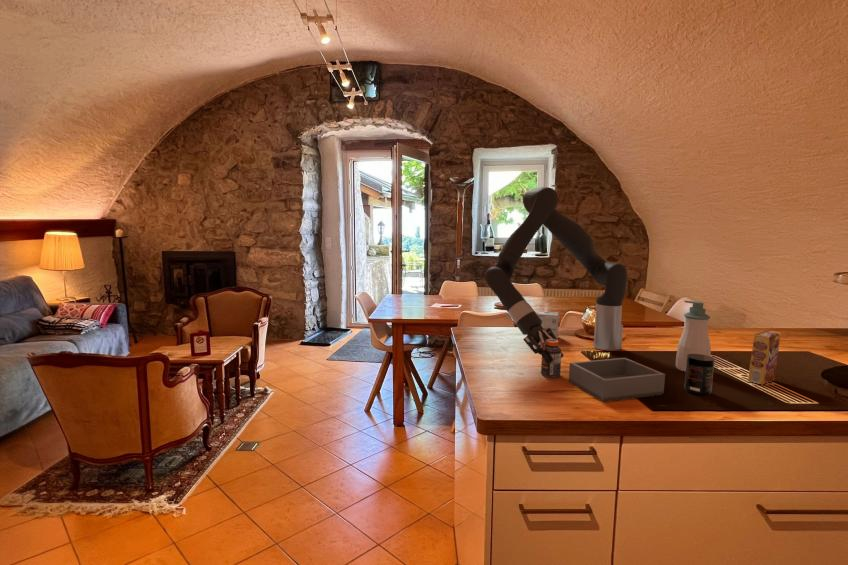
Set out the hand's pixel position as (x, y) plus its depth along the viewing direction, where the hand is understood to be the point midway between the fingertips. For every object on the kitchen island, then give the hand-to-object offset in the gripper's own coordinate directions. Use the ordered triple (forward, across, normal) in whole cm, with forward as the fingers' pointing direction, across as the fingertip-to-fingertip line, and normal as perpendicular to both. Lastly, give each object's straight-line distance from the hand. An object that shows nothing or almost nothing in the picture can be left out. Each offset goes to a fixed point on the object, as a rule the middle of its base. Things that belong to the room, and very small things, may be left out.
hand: (556, 359), depth 140 cm
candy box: (+37, +41, -30) cm, 63 cm away
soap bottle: (+25, +38, -17) cm, 48 cm away
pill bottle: (+3, 0, +5) cm, 6 cm away
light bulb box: (-15, +41, +23) cm, 49 cm away
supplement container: (+29, +17, -21) cm, 40 cm away
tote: (+16, +3, -8) cm, 18 cm away
